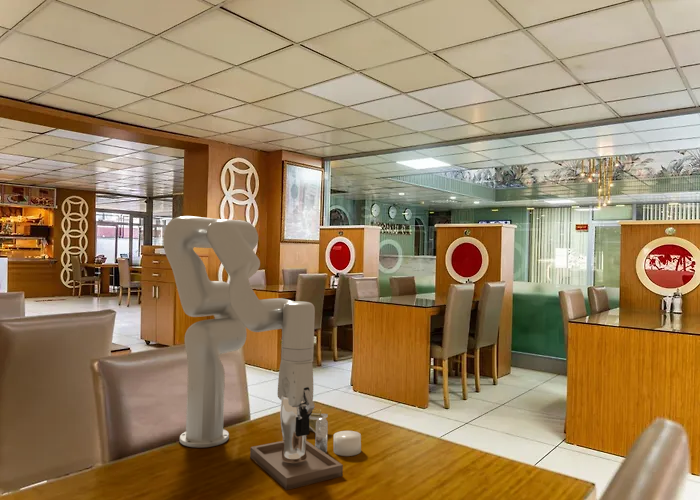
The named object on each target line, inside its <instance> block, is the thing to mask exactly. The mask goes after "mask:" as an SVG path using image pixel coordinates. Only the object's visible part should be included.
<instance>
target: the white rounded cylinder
mask: <svg viewBox="0 0 700 500" xmlns="http://www.w3.org/2000/svg"><path fill="white" fill-rule="evenodd" d="M332 435H333V439H332V440H333V453H334V454H335V455H338V456H341V457H350V456H351V457H353V456H356V455H359V454H360V453H362V442H361V441H362V435H361V433H360V432H358V431H353V430H341V431H337V432H335V433H334V434H332Z"/></svg>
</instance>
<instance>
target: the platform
mask: <svg viewBox="0 0 700 500" xmlns="http://www.w3.org/2000/svg"><path fill="white" fill-rule="evenodd" d="M328 415H329V414H328V413H322V409H320V408H314V409H313V411H312V413H311V417H310V420H309V432H310V431H311V432H314V433H315V434H316V421H317V420H318V419H319V418H325V419H327V418H328V417H329V416H328Z"/></svg>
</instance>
